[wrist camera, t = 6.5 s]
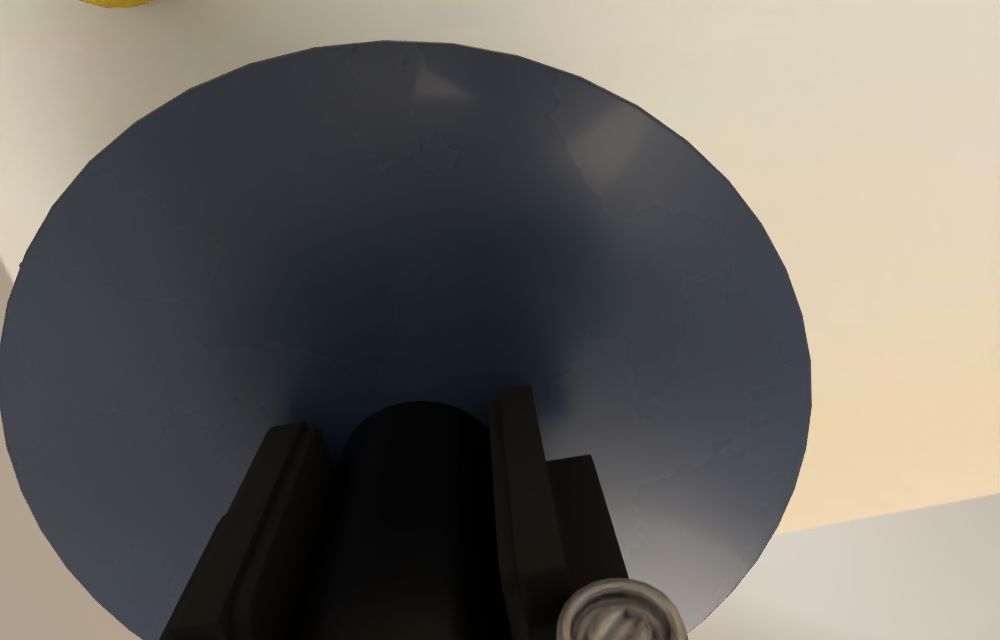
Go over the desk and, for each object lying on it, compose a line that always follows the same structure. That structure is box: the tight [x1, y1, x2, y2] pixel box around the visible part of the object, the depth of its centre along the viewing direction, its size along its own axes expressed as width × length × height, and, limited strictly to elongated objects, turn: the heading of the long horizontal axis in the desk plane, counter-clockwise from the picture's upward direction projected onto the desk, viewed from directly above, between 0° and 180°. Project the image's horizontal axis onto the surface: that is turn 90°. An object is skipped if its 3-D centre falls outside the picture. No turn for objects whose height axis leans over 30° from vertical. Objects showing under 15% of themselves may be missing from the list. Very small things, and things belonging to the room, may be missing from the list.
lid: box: [0, 40, 812, 640], centre depth 9 cm, size 14×14×6 cm
